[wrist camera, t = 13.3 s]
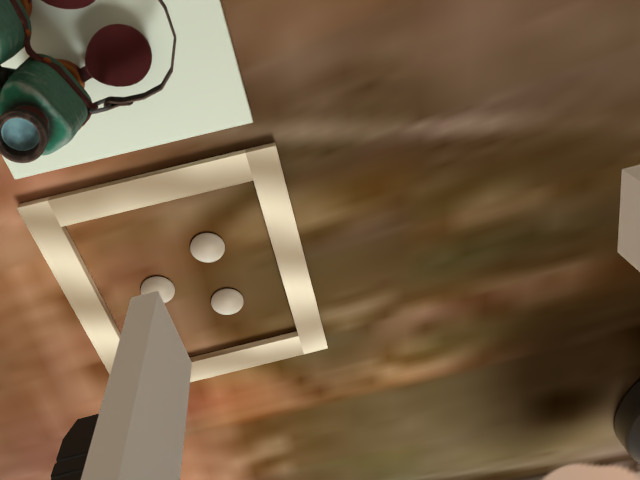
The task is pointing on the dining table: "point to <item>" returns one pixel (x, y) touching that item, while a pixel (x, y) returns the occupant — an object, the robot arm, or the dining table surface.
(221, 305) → the frame
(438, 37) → the dining table surface
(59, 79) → the binoculars
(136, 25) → the pad
